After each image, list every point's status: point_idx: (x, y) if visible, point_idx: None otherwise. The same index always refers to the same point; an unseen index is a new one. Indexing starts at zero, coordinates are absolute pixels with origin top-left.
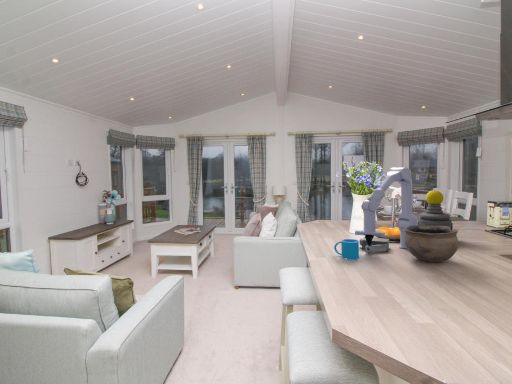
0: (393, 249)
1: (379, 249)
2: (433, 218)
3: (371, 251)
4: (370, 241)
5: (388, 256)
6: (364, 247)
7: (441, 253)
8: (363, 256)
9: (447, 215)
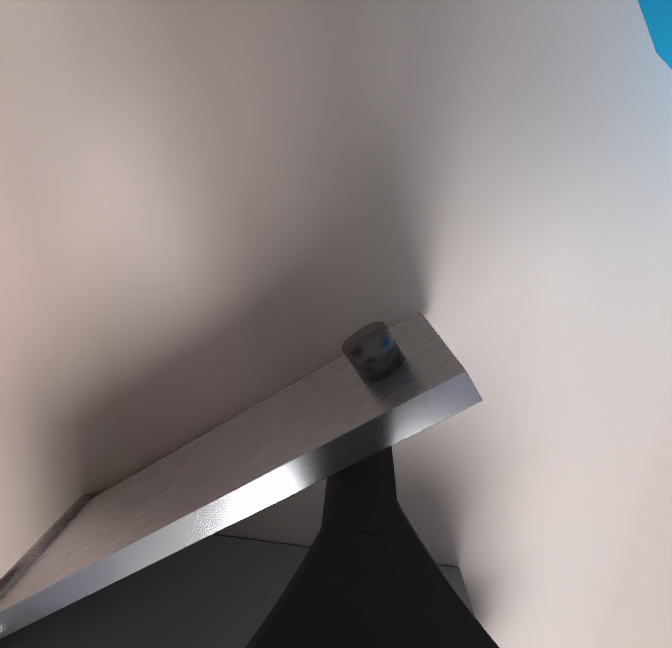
0: None
1: (168, 473)
2: None
3: (317, 377)
4: (314, 592)
5: (3, 177)
6: None
7: None
8: (499, 33)
9: None
